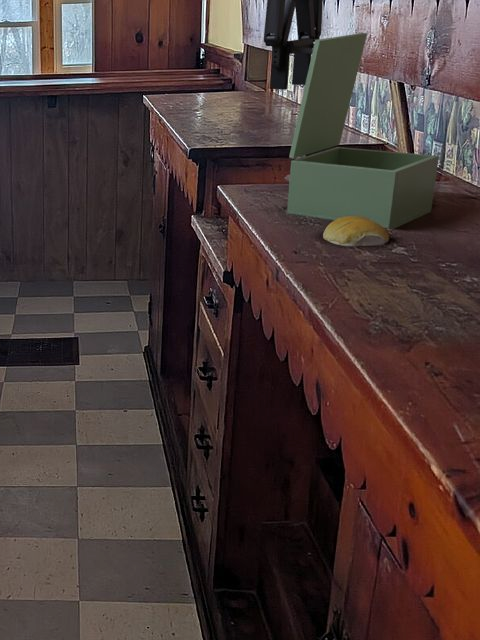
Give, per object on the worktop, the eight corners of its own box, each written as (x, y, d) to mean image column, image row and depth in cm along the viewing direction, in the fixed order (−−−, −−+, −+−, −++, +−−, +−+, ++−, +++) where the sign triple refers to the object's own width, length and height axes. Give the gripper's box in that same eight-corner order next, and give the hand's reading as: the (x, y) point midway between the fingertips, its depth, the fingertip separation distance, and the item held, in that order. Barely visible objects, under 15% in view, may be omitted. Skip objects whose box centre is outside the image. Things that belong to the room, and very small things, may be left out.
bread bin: (431, 212, 138) (439, 155, 134) (388, 231, 129) (396, 171, 125) (332, 198, 149) (337, 146, 146) (286, 216, 140) (290, 160, 137)
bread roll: (367, 235, 128) (370, 208, 126) (395, 251, 119) (399, 223, 118) (312, 238, 128) (314, 212, 126) (336, 255, 119) (339, 227, 118)
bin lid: (367, 33, 137) (320, 25, 142) (320, 40, 128) (271, 31, 133) (339, 144, 146) (295, 133, 151) (293, 158, 137) (248, 146, 142)
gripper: (310, -68, 141) (299, 80, 150) (244, -69, 129) (236, 92, 138) (354, -73, 135) (340, 81, 144) (289, -73, 124) (278, 94, 133)
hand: (289, 86), depth 141 cm, fingers closed on bin lid, 6 cm apart
